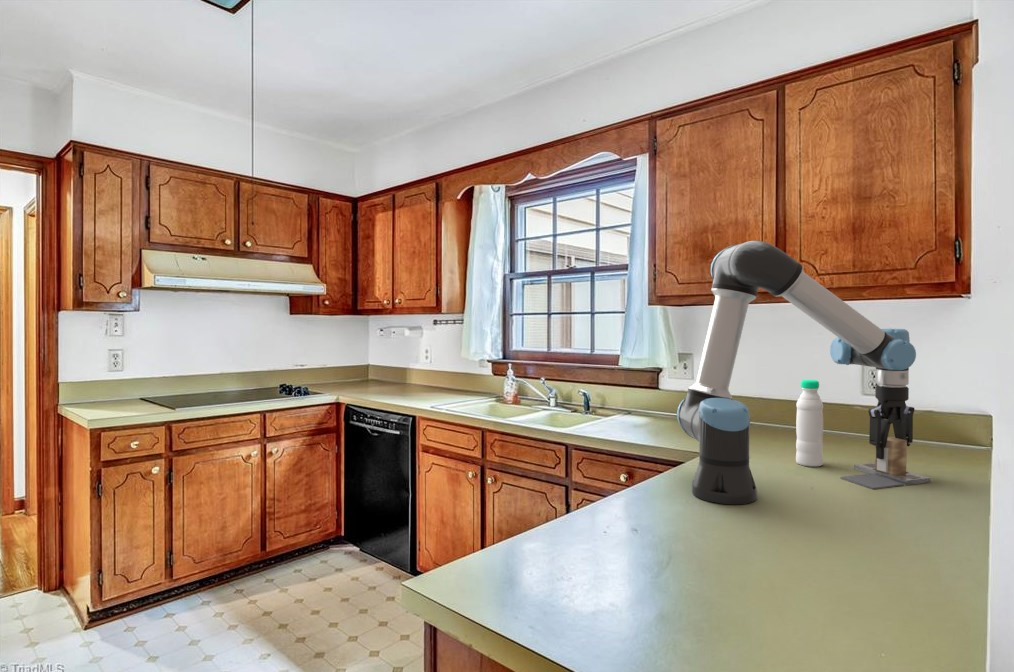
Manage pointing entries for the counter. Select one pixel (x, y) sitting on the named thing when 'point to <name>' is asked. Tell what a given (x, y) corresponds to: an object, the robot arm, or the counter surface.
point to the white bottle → (809, 425)
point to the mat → (871, 481)
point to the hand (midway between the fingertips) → (890, 469)
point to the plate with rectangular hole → (901, 478)
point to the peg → (895, 456)
